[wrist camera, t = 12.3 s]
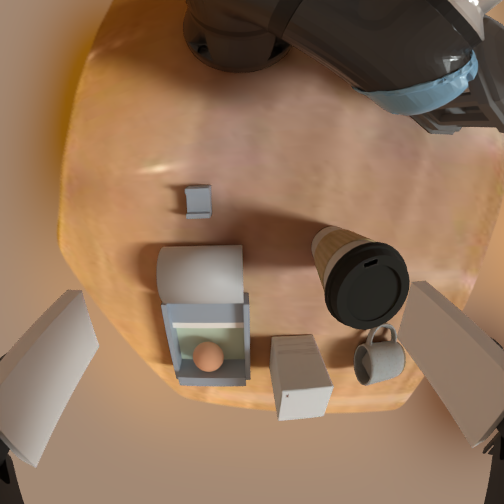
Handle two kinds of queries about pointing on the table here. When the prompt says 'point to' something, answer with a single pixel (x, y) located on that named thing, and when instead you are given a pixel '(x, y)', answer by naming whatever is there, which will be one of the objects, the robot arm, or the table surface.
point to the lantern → (475, 90)
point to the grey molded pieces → (205, 303)
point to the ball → (208, 356)
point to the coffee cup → (359, 277)
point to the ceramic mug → (379, 358)
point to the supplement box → (298, 377)
